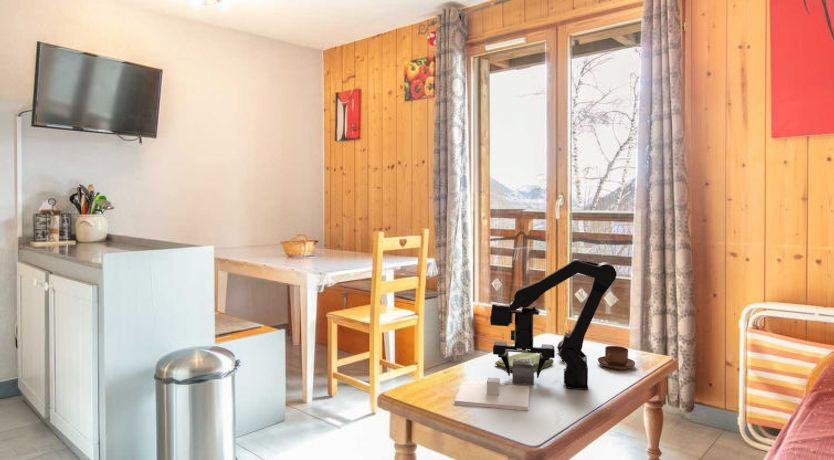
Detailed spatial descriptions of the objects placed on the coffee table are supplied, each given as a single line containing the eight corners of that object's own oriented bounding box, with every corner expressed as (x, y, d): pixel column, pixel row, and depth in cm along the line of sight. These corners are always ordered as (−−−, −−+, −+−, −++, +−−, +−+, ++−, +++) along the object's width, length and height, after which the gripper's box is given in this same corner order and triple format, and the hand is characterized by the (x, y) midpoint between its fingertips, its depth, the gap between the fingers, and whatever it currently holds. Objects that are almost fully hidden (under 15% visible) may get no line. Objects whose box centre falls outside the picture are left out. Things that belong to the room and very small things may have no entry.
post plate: (529, 390, 161) (529, 373, 161) (527, 410, 146) (528, 392, 145) (462, 384, 166) (462, 368, 165) (454, 404, 150) (454, 386, 150)
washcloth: (492, 366, 185) (493, 357, 185) (527, 357, 196) (527, 348, 195) (522, 376, 174) (522, 367, 174) (556, 366, 185) (556, 357, 185)
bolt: (564, 355, 204) (569, 366, 189) (552, 348, 204) (557, 358, 189) (572, 342, 203) (578, 352, 188) (560, 335, 204) (565, 344, 189)
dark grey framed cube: (533, 378, 172) (534, 359, 172) (533, 384, 166) (533, 365, 165) (513, 376, 173) (513, 358, 173) (512, 383, 167) (512, 364, 167)
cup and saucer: (632, 374, 176) (632, 355, 176) (594, 368, 182) (594, 350, 182) (637, 364, 187) (638, 346, 186) (601, 359, 193) (601, 342, 192)
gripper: (554, 323, 174) (553, 370, 175) (495, 320, 178) (495, 366, 179) (555, 331, 163) (554, 382, 164) (493, 328, 168) (492, 377, 168)
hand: (523, 376), depth 169 cm, fingers open, 8 cm apart
